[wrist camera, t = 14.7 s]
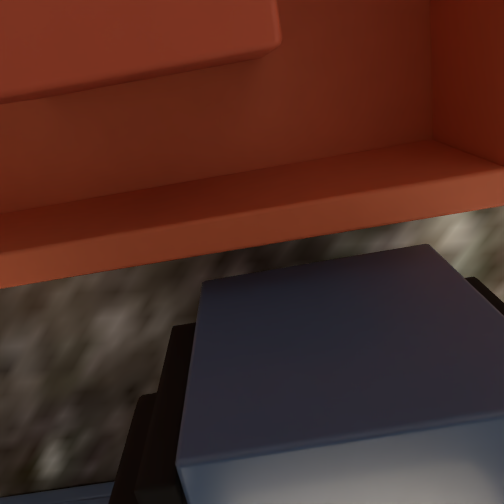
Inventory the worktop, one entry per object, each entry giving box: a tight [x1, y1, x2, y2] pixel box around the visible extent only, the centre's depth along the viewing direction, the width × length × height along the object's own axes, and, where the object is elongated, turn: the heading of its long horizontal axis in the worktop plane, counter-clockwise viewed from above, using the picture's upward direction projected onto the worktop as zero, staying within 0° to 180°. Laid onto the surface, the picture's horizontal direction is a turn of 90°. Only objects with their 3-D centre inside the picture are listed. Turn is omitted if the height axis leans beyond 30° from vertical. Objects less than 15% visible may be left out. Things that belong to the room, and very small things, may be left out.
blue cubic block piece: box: [175, 244, 504, 504], centre depth 8 cm, size 4×4×4 cm
